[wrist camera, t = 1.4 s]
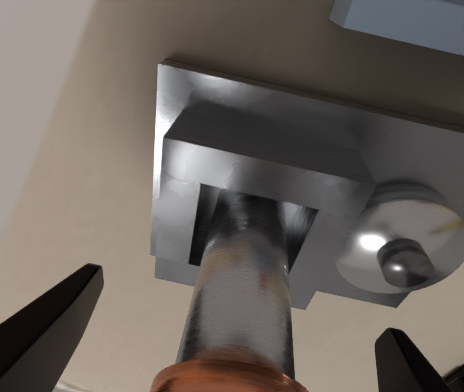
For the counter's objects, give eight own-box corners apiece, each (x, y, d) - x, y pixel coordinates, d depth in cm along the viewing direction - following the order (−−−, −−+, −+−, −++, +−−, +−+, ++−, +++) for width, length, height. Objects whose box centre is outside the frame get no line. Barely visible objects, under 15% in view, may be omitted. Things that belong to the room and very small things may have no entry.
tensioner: (521, 141, 11) (597, 187, 9) (391, 295, 17) (413, 352, 15) (164, 59, 11) (130, 81, 8) (154, 244, 17) (133, 293, 14)
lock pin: (305, 175, 12) (351, 431, 5) (279, 239, 15) (287, 481, 7) (216, 156, 12) (141, 388, 5) (204, 223, 15) (139, 452, 7)
